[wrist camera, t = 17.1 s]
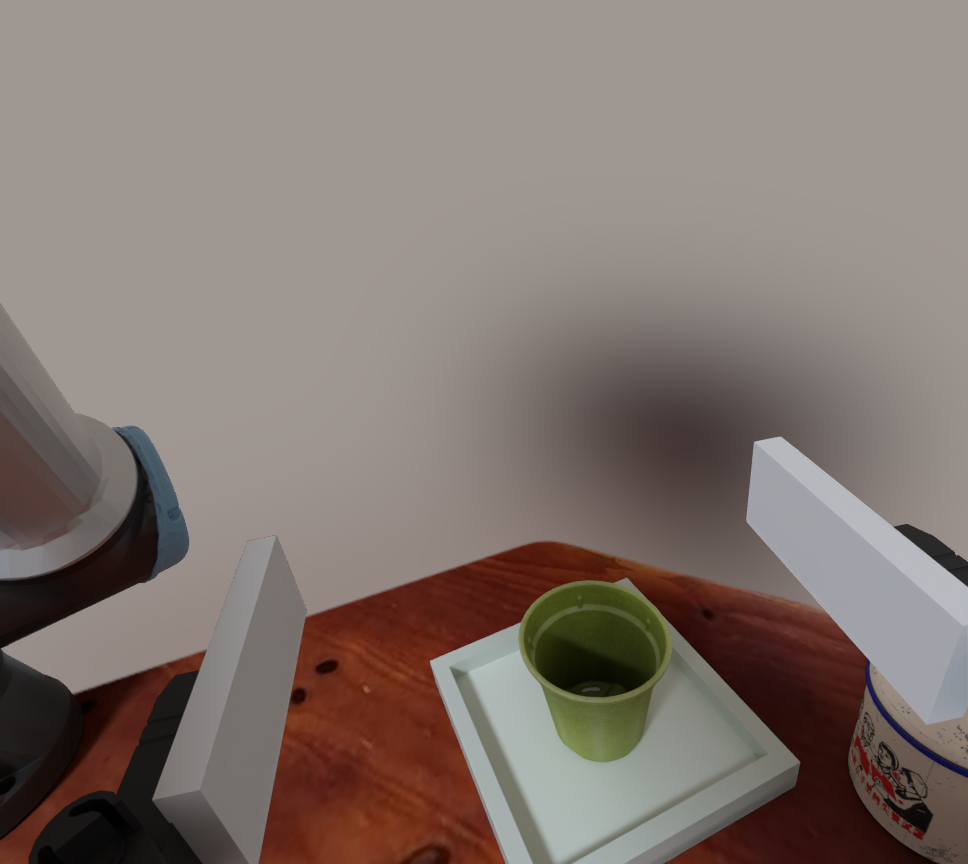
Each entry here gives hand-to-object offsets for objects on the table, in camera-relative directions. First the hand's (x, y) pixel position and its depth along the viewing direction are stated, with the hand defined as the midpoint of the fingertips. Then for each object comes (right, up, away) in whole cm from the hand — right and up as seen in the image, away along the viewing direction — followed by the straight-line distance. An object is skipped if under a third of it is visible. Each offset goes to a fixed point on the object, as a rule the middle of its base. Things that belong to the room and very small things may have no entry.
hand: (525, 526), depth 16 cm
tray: (+7, -18, +25) cm, 32 cm away
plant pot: (+7, -18, +24) cm, 31 cm away
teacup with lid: (+26, -20, +17) cm, 37 cm away
